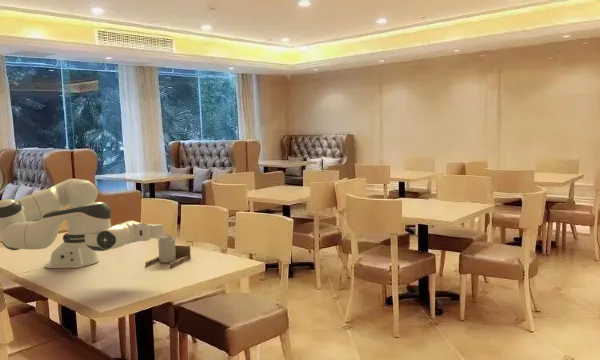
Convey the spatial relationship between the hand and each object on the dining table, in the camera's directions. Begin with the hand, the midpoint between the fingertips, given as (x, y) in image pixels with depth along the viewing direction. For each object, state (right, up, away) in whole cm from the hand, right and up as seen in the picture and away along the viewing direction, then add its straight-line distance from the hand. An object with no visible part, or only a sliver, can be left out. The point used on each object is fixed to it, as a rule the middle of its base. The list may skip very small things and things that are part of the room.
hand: (148, 225), depth 218 cm
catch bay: (+4, -18, +17) cm, 25 cm away
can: (+4, -18, +18) cm, 26 cm away
